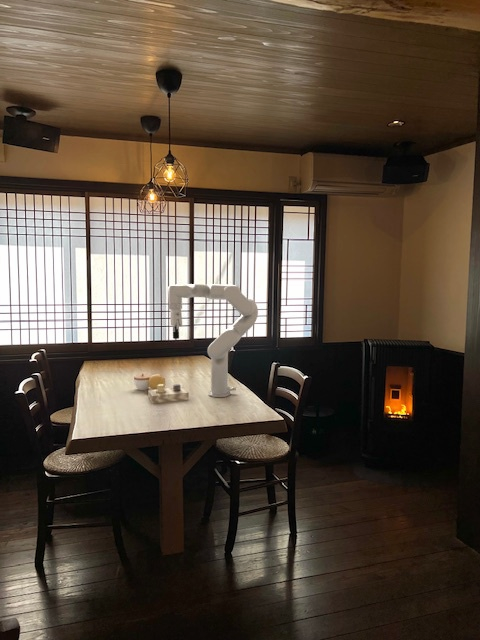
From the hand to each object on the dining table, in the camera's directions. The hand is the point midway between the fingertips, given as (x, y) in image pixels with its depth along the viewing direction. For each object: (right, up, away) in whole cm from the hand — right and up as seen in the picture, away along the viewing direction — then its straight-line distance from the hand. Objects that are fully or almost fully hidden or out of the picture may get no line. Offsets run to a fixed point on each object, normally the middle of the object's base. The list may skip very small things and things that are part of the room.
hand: (176, 338), depth 270 cm
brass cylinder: (-7, -33, -9) cm, 35 cm away
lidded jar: (-22, -31, +14) cm, 40 cm away
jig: (-3, -33, -7) cm, 34 cm away
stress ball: (-12, -32, +9) cm, 35 cm away
